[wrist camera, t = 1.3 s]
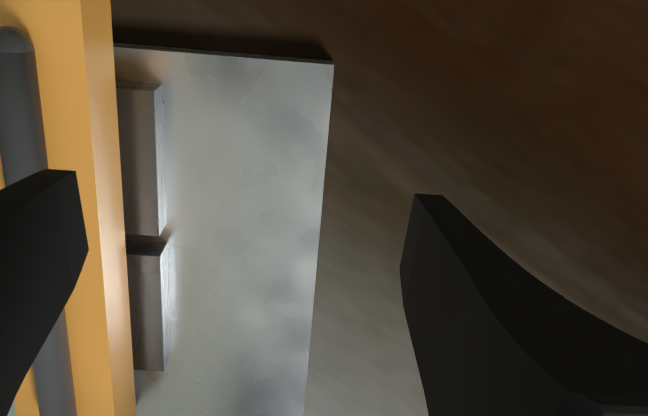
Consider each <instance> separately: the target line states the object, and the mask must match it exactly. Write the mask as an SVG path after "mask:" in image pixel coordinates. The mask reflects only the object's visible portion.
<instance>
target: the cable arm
mask: <svg viewBox="0 0 648 416" xmlns="http://www.w3.org/2000/svg"><path fill="white" fill-rule="evenodd" d="M44 169H57V170H72V171H76V175H77V181H78V187H79V193H80V199H81V205H82V211H83V217H84V223H85V229H86V235H87V241H88V247H89V251H88V254H87V257H86V260H85V262H84V265H83V268H82V271H81V273H80V276H79V278H78V281H77V284H76V286H75V289H74V290H73V292H72V294H71V296H70V298H69V300H68V302H67V303H66V305H65V307H64V309H63V311H62V312H61V314H60V316H59V318H58V320H57V321H56V323H55V325H54V327H53V328H52V330H51V332H50V334H49V335H48V337H47V339H46V341H45V342H44V344H43V346H42V348H41V349H40V351H39V353H38V355H37V357H36V358H35V360H34V362H33V364H32V365H31V367H30V369H29V371H28V372H27V374H26V376H25V378H24V380H23V382H22V384H21V386H20V388H19V390H18V392H17V394H16V396H15V399H14V403H15V409H16V414H17V416H136V402H135V386H134V370H133V354H132V338H131V322H130V306H129V290H128V275H127V259H126V243H125V227H124V211H123V195H122V179H121V163H120V147H119V131H118V115H117V100H116V84H115V68H114V52H113V36H112V20H111V4H110V0H0V190H1V189H3V188H5V187H7V186H9V185H11V184H13V183H15V182H17V181H19V180H21V179H23V178H25V177H27V176H30V175H32V174H34V173H36V172H39V171H42V170H44Z"/></svg>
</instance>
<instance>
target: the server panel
mask: <svg viewBox="0 0 648 416" xmlns="http://www.w3.org/2000/svg"><path fill="white" fill-rule="evenodd" d="M113 52H114V68H115V84H116V100H117V115H118V131H119V147H120V163H121V179H122V195H123V211H124V227H125V243H126V259H127V275H128V290H129V306H130V322H131V338H132V354H133V370H134V386H135V402H136V416H303V415H304V404H305V392H306V381H307V370H308V358H309V347H310V335H311V324H312V313H313V301H314V290H315V278H316V267H317V255H318V244H319V233H320V221H321V210H322V198H323V187H324V175H325V164H326V153H327V141H328V130H329V118H330V107H331V95H332V84H333V73H334V61H331V60H319V59H307V58H295V57H283V56H270V55H258V54H246V53H234V52H222V51H210V50H197V49H185V48H173V47H161V46H149V45H136V44H124V43H113ZM7 416H17V414H16V409H15V403H14V401H13V403H12V406H11V408H10V411H9V413H8V415H7Z"/></svg>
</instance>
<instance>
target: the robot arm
mask: <svg viewBox="0 0 648 416" xmlns="http://www.w3.org/2000/svg"><path fill="white" fill-rule="evenodd" d="M88 251H89V247H88V241H87V235H86V229H85V223H84V217H83V211H82V205H81V199H80V193H79V187H78V181H77V175H76V171H72V170H57V169H44V170H42V171H39V172H36V173H34V174H32V175H30V176H27V177H25V178H23V179H21V180H19V181H17V182H15V183H13V184H11V185H9V186H7V187H5V188H3V189H1V190H0V416H7V415H8V413H9V411H10V408H11V406H12V403H13V401H14V399H15V396H16V394H17V392H18V390H19V388H20V386H21V384H22V382H23V380H24V378H25V376H26V374H27V372H28V371H29V369H30V367H31V365H32V364H33V362H34V360H35V358H36V357H37V355H38V353H39V351H40V349H41V348H42V346H43V344H44V342H45V341H46V339H47V337H48V335H49V334H50V332H51V330H52V328H53V327H54V325H55V323H56V321H57V320H58V318H59V316H60V314H61V312H62V311H63V309H64V307H65V305H66V303H67V302H68V300H69V298H70V296H71V294H72V292H73V290H74V289H75V286H76V284H77V281H78V278H79V276H80V273H81V271H82V268H83V265H84V262H85V260H86V257H87V254H88ZM400 277H401V288H402V297H403V306H404V311H405V315H406V319H407V324H408V328H409V332H410V336H411V340H412V344H413V348H414V352H415V356H416V360H417V364H418V369H419V373H420V377H421V381H422V385H423V389H424V393H425V398H426V403H427V408H428V414H429V416H648V344H647V343H645V342H643V341H641V340H639V339H637V338H635V337H633V336H631V335H629V334H627V333H625V332H623V331H621V330H619V329H617V328H615V327H613V326H612V325H610V324H608V323H606V322H605V321H603V320H601V319H599V318H597V317H596V316H594V315H592V314H590V313H589V312H587V311H585V310H583V309H582V308H580V307H578V306H577V305H575V304H574V303H572V302H570V301H569V300H567V299H566V298H564V297H563V296H561V295H560V294H558V293H557V292H555V291H554V290H552V289H551V288H550V287H548V286H547V285H545V284H544V283H542V282H541V281H539V280H538V279H537V278H535V277H534V276H533V275H531V274H530V273H529V272H527V271H526V270H525V269H524V268H522V267H521V266H520V265H519V264H517V263H516V262H515V261H514V260H513V259H511V258H510V257H509V256H508V255H506V254H505V253H504V252H503V251H502V250H501V249H500V248H498V247H497V246H496V245H495V244H494V243H493V242H492V241H491V240H489V239H488V238H487V237H486V236H485V235H484V234H483V233H482V232H481V231H480V230H479V229H478V228H477V227H475V226H474V225H473V224H472V223H471V222H470V221H469V220H468V219H467V218H466V217H465V216H464V215H463V214H462V213H461V212H460V211H459V210H458V209H457V208H456V207H455V206H454V205H453V204H451V203H450V202H449V201H448V200H447V199H446V198H445V197H444V196H442V195H429V194H414V198H413V203H412V208H411V213H410V219H409V224H408V229H407V234H406V239H405V244H404V249H403V254H402V259H401V264H400Z"/></svg>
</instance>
